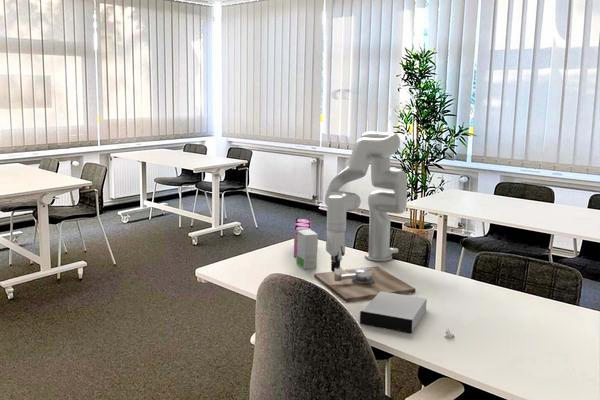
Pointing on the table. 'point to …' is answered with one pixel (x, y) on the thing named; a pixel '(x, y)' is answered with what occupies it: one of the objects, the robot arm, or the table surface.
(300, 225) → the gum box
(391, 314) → the disc drive
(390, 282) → the mounting board
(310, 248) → the skincare box
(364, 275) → the lock lever
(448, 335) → the adhesive hook
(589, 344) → the table surface
